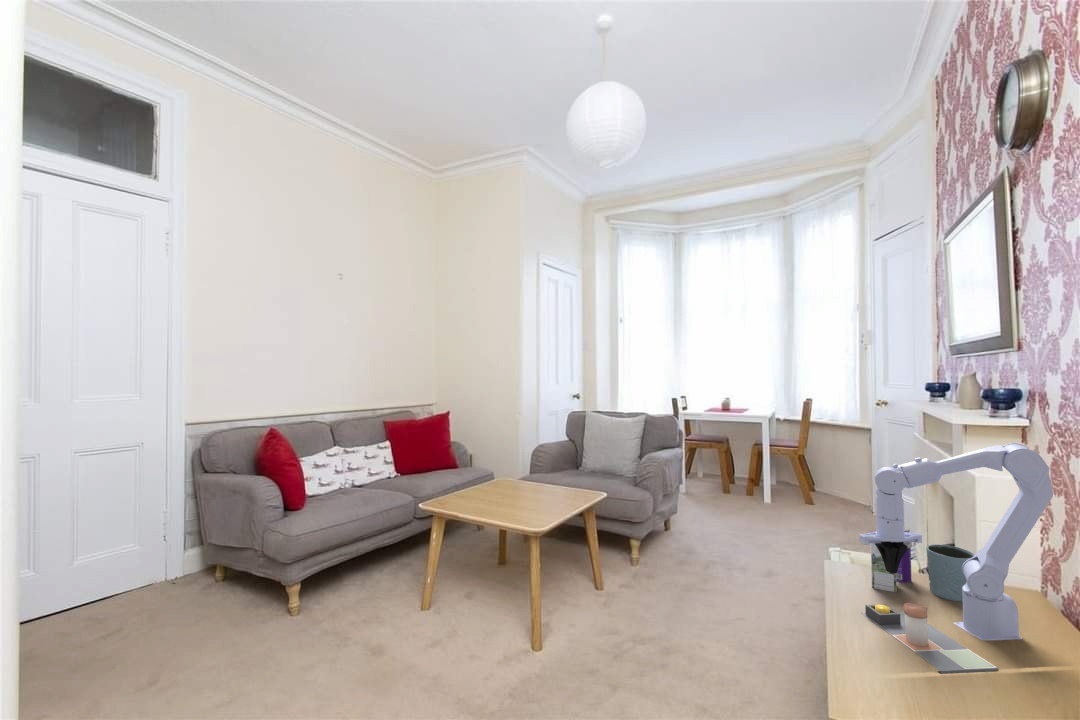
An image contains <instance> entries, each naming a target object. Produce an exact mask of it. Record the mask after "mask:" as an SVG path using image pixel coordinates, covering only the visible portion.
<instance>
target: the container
mask: <svg viewBox="0 0 1080 720" xmlns="http://www.w3.org/2000/svg"><path fill="white" fill-rule="evenodd" d="M904 532H911V531H910V528H908V527H906V526H904ZM904 544H905V545H907V546H908V550H907V551H906V553H905V554H904V555H903V557H902V559H901V561H900V564H899V567H898V571H897V573H896V583H906V584H907V583H912V554H911V553H912V550H911V549H912V548H911V547H912V545H911V542H904Z"/></svg>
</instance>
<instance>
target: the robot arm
mask: <svg viewBox="0 0 1080 720" xmlns="http://www.w3.org/2000/svg"><path fill="white" fill-rule="evenodd" d="M980 468H987V469H990V470H995V471H999V472H1003V471H1004V470H1003V468H1004V469H1005V470H1006V471H1007V472H1009V474H1010V475H1011V476H1012V479H1013V480H1014V482H1015V483H1016V486H1017V487H1018V492H1017V494H1016V496H1015V497H1013V500H1012V502H1011V503H1010V505H1009V507H1008V508H1007V509H1006V512H1005V513H1004V514H1003V516H1002V518H1001V519H1000V520H999V522H998V524H997V525H996V527H995V529H994V530H993V532H992V533H991V535H990V536H989V538H988V540H987V542H986V543H985V544H984V546H983V547H982V548H981V549H979V550H977V552H975V554H974V555H975V556H974V557H972V558H971V559H968V560H966V561H965V562H964V563H963V565H962V572H963V575H964V576H965V578H966V580H967V582H966V584H965V585H964V586H963V587H962V597H963V602H962V621H955V622H952V623H953V624H954V625H955V626H958V627H959V628H961V629H963V630H964V631H966V632H967V633H969V634H971V635H972V636H974V637H976V638H977V639H979V640H980V641H1003V640H1004V641H1005V640H1008V641H1009V640H1023V637H1022V636H1020V626H1019V623H1020V621H1019V609H1018V605H1017V603H1016V602H1015V600H1014V599H1013V598H1012V597H1011V596H1010V595H1009V594H1007V593H1004V592H1005V581H1006V579H1007V578H1008V573H1009V569H1010V568H1009V567H1010V565H1011V562H1012V561H1013V559H1014V558H1015V556H1016V555H1017V553H1018V551H1019V549H1020V548H1021V547H1022V545H1023V543H1024V542H1025V541H1026V539H1027V537H1029V534H1030V533H1031V531H1032V530H1033V529H1034V528H1035V527H1034V526H1035V525H1036V523H1037V522H1038V521H1039V519H1040V518H1041V516H1042V515H1043V513H1044V512H1045V510H1046V508H1047V506H1048V505H1049V504H1050V502H1051V500H1052V499H1053V497H1054V492H1053V486H1052V481H1051V476H1050V467H1049V465H1048V464H1047V463H1046V461H1045V459H1043V457H1042V456H1041V455H1040V454H1039V453H1037V452H1036V451H1034V450H1032V449H1030V448H1029V447H1027V446H1026V445H1024V444H1022V443H1017V442H1010V443H1007V444H1004V445H1001V444H999V445H992V446H988V447H983V448H980V449H976V450H973V451H969V452H966V453H962V454H959V455H955V456H951V457H948V458H943V459H941V460H937V461H934V460H932V459H929V458H928V457H926V458H925V457H924V458H922V457H920V456H919V457H915V458H914V461H909V462H905V463H902V464H901V463H900V464H898V463H894V464H892V467H890V466H884V467H881V468H879V469H878V470H877V471H876V472H875V475H874V482H875V485H876V489H875V494H876V496H875V517H876V519H875V521H876V529H875V531H872V533H871V532H868V533H860V534H859V543H860V544H863V545H865V546H866V545H867V546H868V545H871V543H875V545H876V547H877V548H878V550H879V552H880V554H881V556H882V559H883V561H884V565H885V568H886V571H888V572H890V573H892V574H895V573H897V571H898V567H899V564H900V561H901V559H902V557H903V555H904V554H905V553H906V551H907V550H908V546H907V545H905V544H904V542H910V543H917V544H921V543H923V535H922V534H920V533H918V532H911V531H910V532H904V527H905V512H904V510H905V507H904V505H905V504H904V499H903V491H904V489H905V488H906V489H913V488H917V487H920V486H925V485H930V484H934V483H939V481H940V480H941V478H942V476H944V475H949V474H954V473H959V472H960V473H961V472H964V471H969V470H970V471H971V470H975V469H980Z"/></svg>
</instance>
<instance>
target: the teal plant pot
mask: <svg viewBox="0 0 1080 720" xmlns="http://www.w3.org/2000/svg"><path fill="white" fill-rule="evenodd" d="M925 551H926V558H927V568H928V569H927V572H928V581H929V592H930V593H931V594H933V595H935V596H936V597H939V598H942V599H945V600H949V601H954V602H962V603H963V597H962V587H963V586H964V585H965V584H966V582H967V580H966V578H965V576H964V575H963V572H962V565H963V563H964V562H965V561H966V560H968V559H971V558H972V557H974V556H975V554H974V553H973V552H972V551H970V550H968V549H964V548H962V547H957V546H953V545H949V544H933V543H932V544H929V545H927V546H926V547H925Z"/></svg>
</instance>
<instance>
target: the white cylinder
mask: <svg viewBox="0 0 1080 720" xmlns="http://www.w3.org/2000/svg"><path fill="white" fill-rule="evenodd" d="M903 611H904V613H905V629H906V640H907V642H909V643H910V644H913V645H916V646H921V647H925V646H928V645H929V642H928V625H927V623H928V608H927V607H925V606H924V605H921V604H919V603H913V602H906V603H904V604H903Z"/></svg>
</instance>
